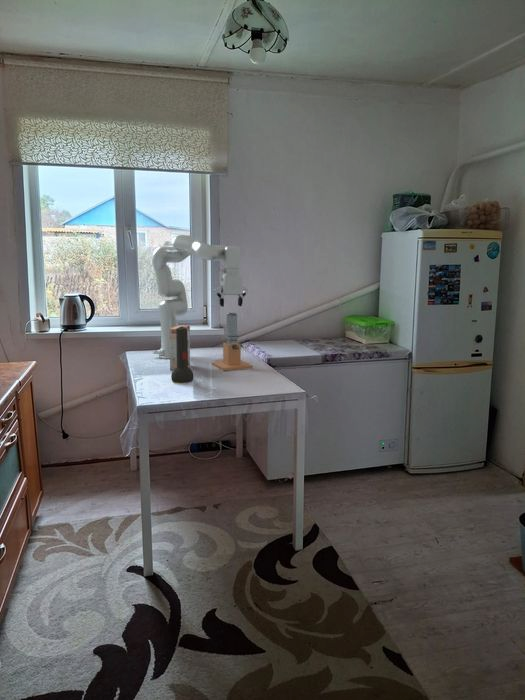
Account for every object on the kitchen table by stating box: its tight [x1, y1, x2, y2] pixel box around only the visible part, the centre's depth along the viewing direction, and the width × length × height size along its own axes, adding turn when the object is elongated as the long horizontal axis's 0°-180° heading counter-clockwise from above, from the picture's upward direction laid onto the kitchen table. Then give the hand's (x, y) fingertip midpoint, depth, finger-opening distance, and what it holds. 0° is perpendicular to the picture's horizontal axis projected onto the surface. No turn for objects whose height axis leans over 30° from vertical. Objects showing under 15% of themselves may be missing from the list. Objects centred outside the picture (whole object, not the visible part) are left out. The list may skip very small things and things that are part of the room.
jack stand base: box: [211, 342, 253, 372], centre depth 257 cm, size 16×16×12 cm
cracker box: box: [169, 324, 191, 371], centre depth 252 cm, size 14×6×21 cm, turn 168°
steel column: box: [225, 312, 239, 345], centre depth 255 cm, size 5×5×20 cm
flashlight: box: [170, 326, 195, 384], centre depth 225 cm, size 10×25×10 cm
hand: (231, 306), depth 253 cm, fingers open, 9 cm apart
